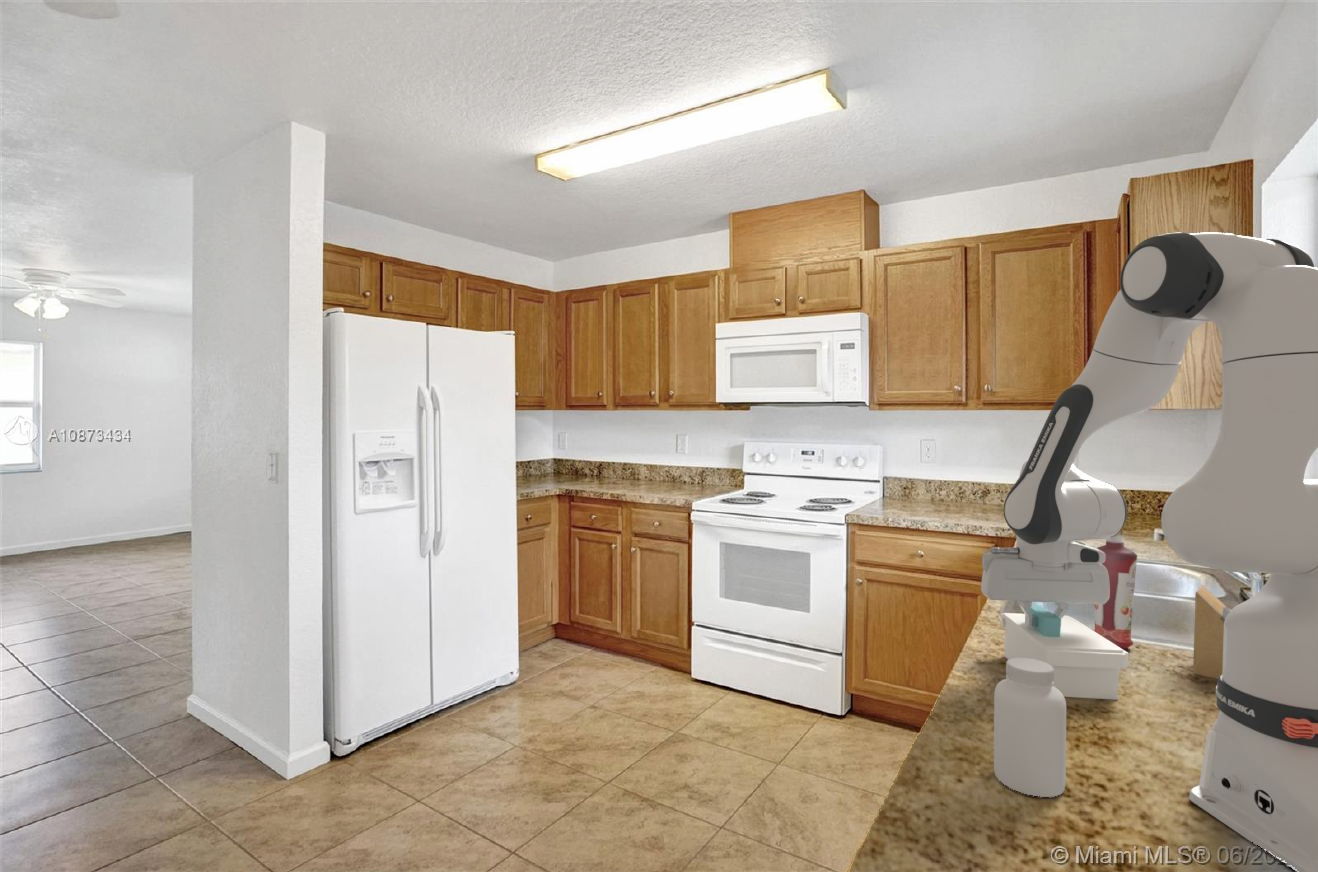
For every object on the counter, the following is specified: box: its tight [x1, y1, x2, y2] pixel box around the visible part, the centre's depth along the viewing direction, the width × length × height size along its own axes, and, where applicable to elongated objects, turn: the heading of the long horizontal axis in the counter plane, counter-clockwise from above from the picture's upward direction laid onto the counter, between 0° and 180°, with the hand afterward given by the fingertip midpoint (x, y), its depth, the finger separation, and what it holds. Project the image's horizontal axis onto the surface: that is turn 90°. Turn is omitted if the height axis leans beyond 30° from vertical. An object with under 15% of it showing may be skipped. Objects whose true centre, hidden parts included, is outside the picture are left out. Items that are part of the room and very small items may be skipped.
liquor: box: [1094, 527, 1138, 651], centre depth 133 cm, size 7×7×28 cm
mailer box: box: [1004, 619, 1120, 701], centre depth 118 cm, size 18×11×7 cm, turn 172°
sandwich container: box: [1192, 584, 1231, 680], centre depth 117 cm, size 9×15×15 cm, turn 45°
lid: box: [1000, 604, 1129, 670], centre depth 118 cm, size 20×13×6 cm, turn 172°
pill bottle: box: [993, 658, 1067, 798], centre depth 84 cm, size 8×8×15 cm
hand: (1042, 626), depth 118 cm, fingers closed on lid, 2 cm apart
